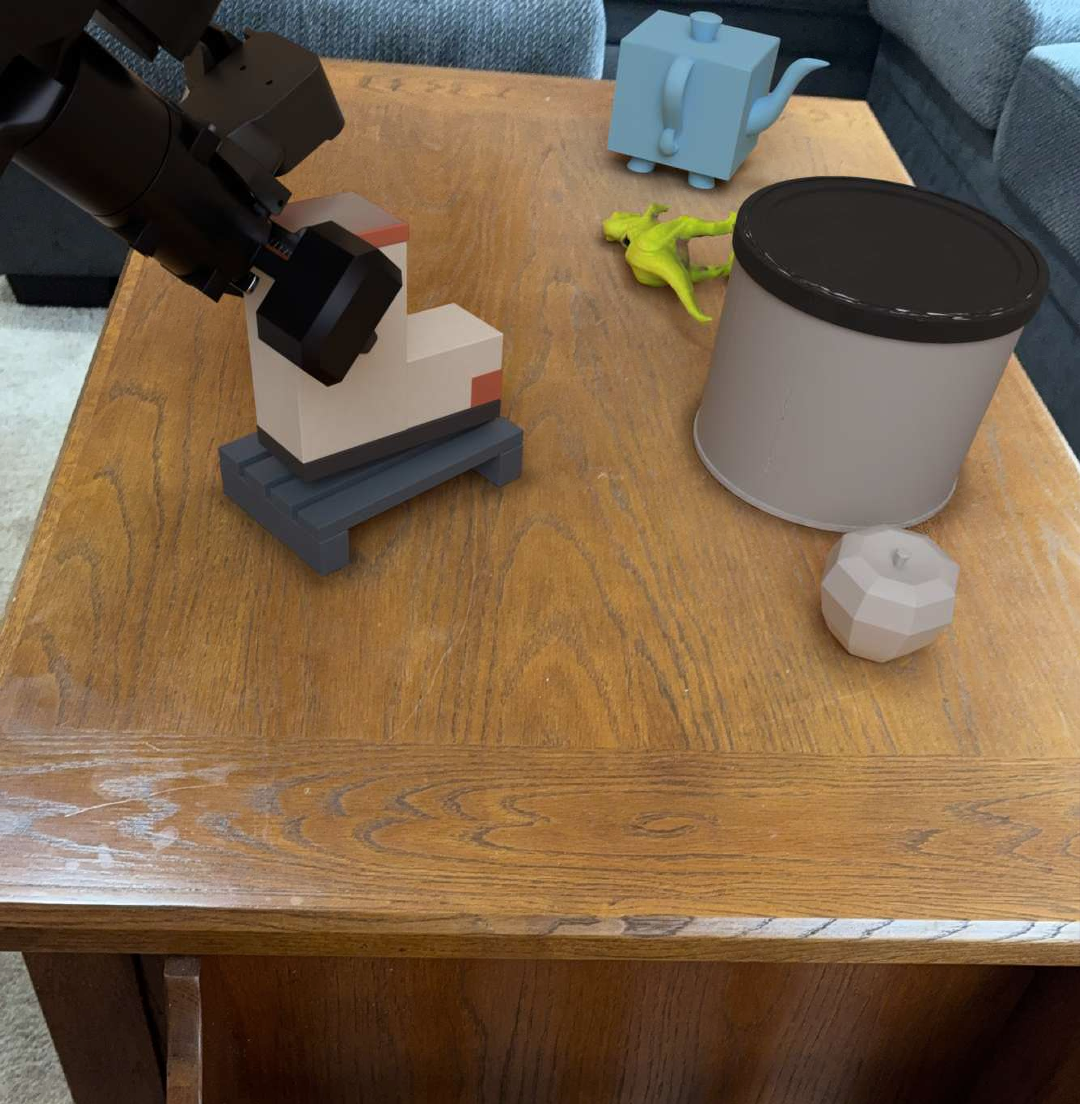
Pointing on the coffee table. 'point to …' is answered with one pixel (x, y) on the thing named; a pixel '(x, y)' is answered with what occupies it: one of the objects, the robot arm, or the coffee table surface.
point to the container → (860, 348)
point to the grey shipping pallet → (358, 486)
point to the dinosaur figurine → (668, 250)
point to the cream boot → (373, 366)
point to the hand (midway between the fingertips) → (339, 323)
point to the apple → (887, 591)
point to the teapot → (697, 94)
